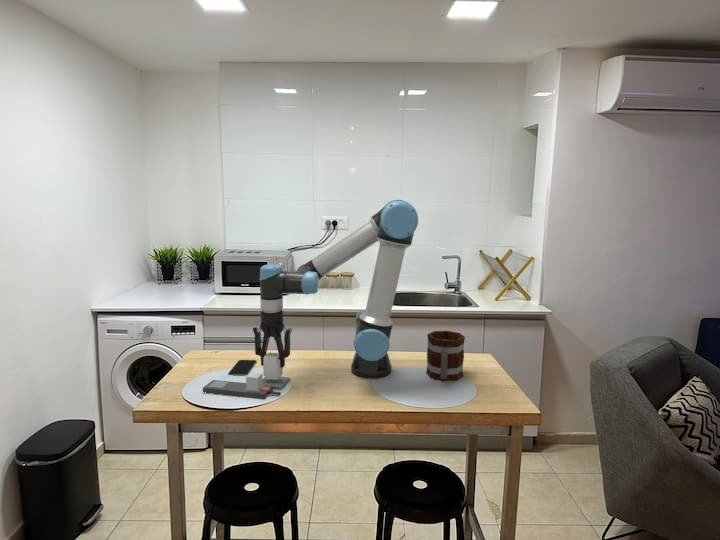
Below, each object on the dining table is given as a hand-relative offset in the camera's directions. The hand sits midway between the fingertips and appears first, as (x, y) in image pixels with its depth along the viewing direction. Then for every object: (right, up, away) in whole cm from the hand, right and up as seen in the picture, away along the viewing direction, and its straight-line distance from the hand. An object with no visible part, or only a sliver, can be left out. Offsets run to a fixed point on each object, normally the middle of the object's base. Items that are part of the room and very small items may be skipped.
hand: (273, 375), depth 174 cm
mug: (+61, -3, +7) cm, 61 cm away
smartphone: (-14, -1, +15) cm, 21 cm away
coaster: (0, -3, +1) cm, 3 cm away
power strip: (-9, -4, -7) cm, 12 cm away
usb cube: (-5, -3, -8) cm, 10 cm away
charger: (0, -1, 0) cm, 1 cm away
